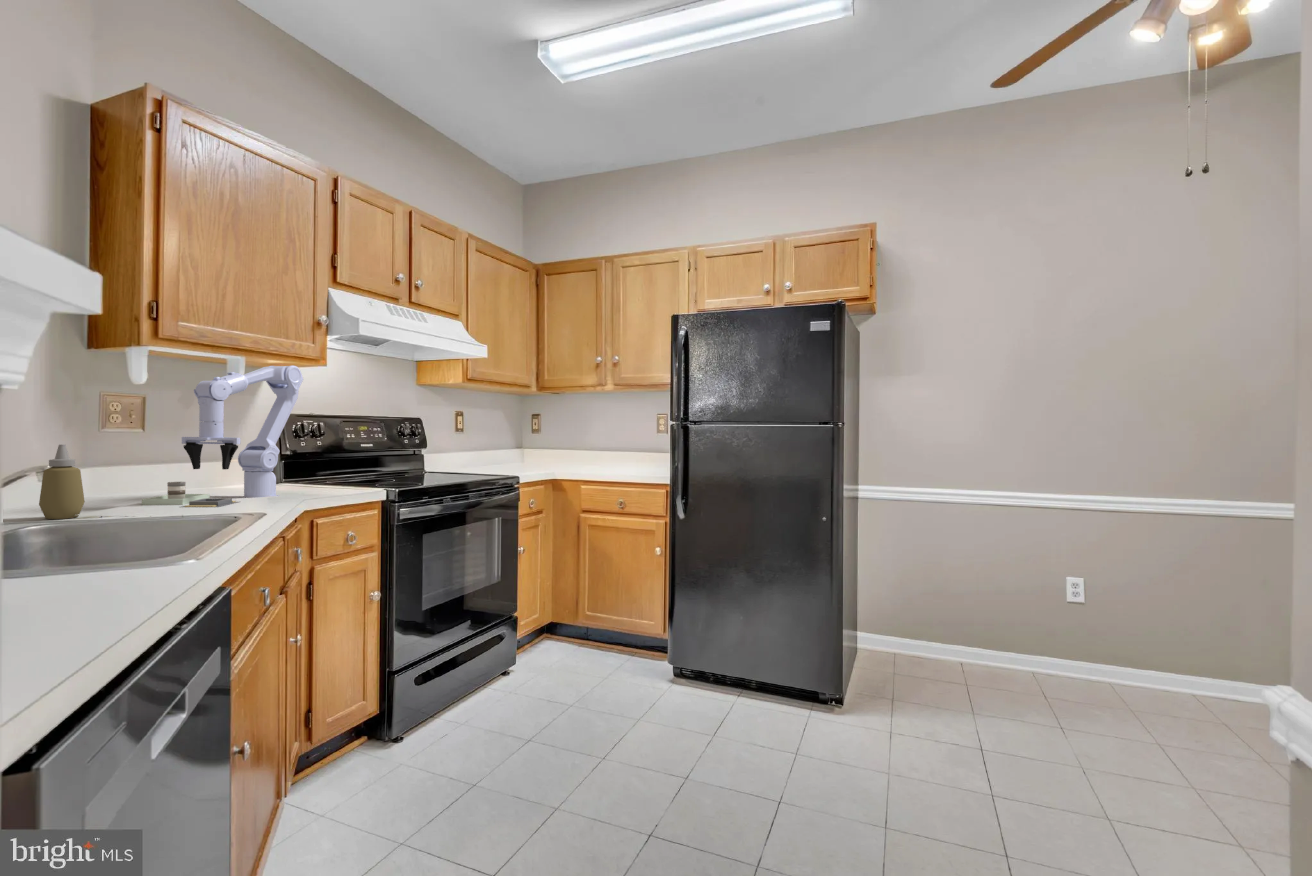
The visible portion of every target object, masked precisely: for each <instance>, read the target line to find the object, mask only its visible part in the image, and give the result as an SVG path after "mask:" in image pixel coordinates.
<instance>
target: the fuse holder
mask: <svg viewBox="0 0 1312 876" xmlns="http://www.w3.org/2000/svg"><path fill="white" fill-rule="evenodd" d="M238 503H240V501H236V500H233V498H228V497H227V498H226V497H225V498H223V497H222V498H216V497H215V498H213V497H212V498H211V497H210V498H204V499H199V500H195V501H190V502H189V504H185V505H182V506H181V505H180V508H221V507H226V506H230V505H234V504H238Z"/></svg>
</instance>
